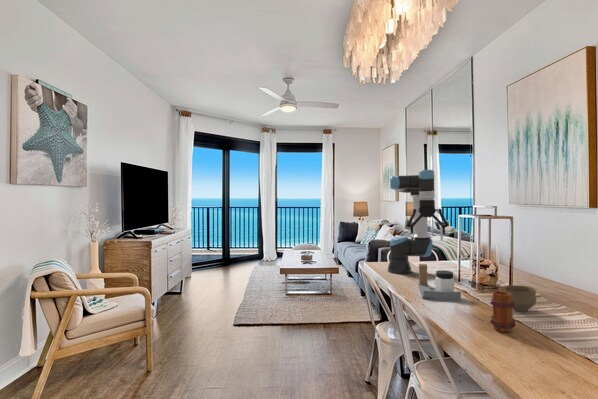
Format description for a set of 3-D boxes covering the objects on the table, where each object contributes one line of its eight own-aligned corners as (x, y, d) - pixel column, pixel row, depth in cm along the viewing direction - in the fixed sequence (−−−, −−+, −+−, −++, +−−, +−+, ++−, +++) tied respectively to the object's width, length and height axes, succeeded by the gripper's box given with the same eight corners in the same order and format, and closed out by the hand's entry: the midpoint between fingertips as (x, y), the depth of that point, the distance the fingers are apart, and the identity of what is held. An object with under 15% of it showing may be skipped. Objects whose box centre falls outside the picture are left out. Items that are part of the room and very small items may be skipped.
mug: (515, 336, 120) (515, 295, 119) (489, 332, 124) (489, 292, 124) (515, 323, 132) (514, 285, 132) (491, 319, 136) (490, 283, 136)
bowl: (506, 303, 156) (506, 282, 155) (539, 309, 146) (539, 287, 146) (498, 310, 147) (498, 287, 147) (533, 317, 138) (532, 293, 138)
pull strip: (418, 284, 190) (417, 263, 190) (451, 286, 185) (451, 264, 185) (422, 298, 165) (422, 274, 165) (460, 301, 160) (460, 275, 160)
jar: (449, 299, 163) (449, 274, 163) (433, 295, 169) (432, 272, 169) (456, 295, 170) (456, 271, 170) (440, 292, 176) (440, 269, 175)
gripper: (402, 200, 173) (402, 240, 173) (454, 199, 166) (454, 241, 166) (401, 199, 180) (402, 238, 180) (451, 199, 173) (452, 239, 173)
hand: (427, 240), depth 173 cm, fingers open, 13 cm apart
